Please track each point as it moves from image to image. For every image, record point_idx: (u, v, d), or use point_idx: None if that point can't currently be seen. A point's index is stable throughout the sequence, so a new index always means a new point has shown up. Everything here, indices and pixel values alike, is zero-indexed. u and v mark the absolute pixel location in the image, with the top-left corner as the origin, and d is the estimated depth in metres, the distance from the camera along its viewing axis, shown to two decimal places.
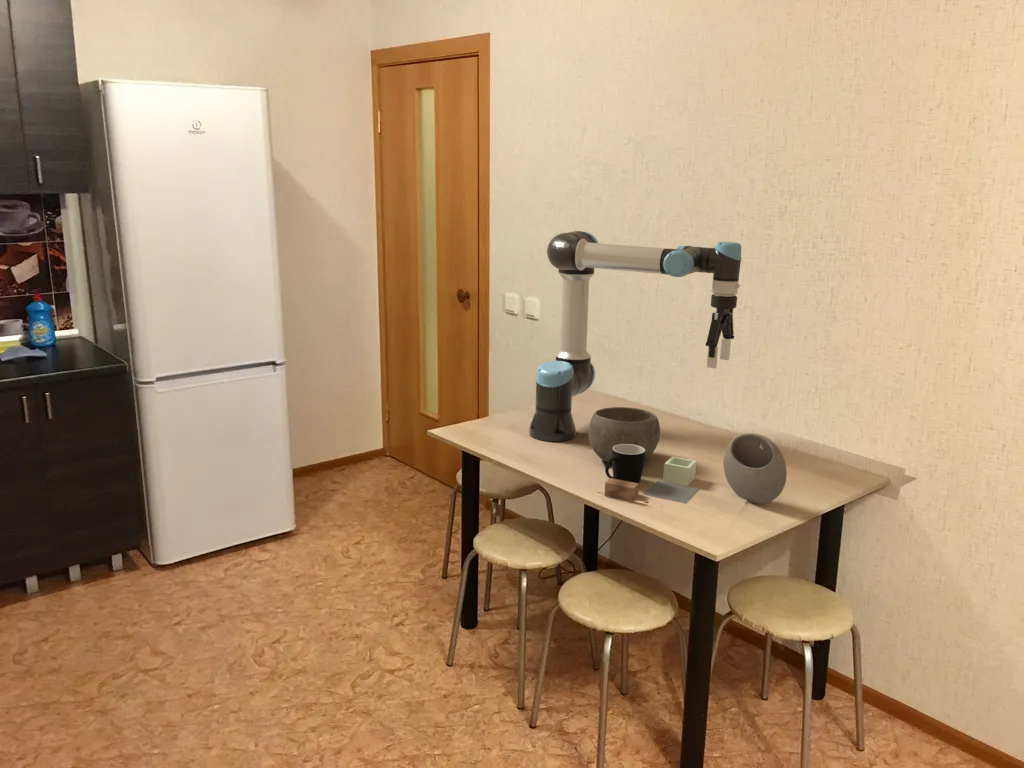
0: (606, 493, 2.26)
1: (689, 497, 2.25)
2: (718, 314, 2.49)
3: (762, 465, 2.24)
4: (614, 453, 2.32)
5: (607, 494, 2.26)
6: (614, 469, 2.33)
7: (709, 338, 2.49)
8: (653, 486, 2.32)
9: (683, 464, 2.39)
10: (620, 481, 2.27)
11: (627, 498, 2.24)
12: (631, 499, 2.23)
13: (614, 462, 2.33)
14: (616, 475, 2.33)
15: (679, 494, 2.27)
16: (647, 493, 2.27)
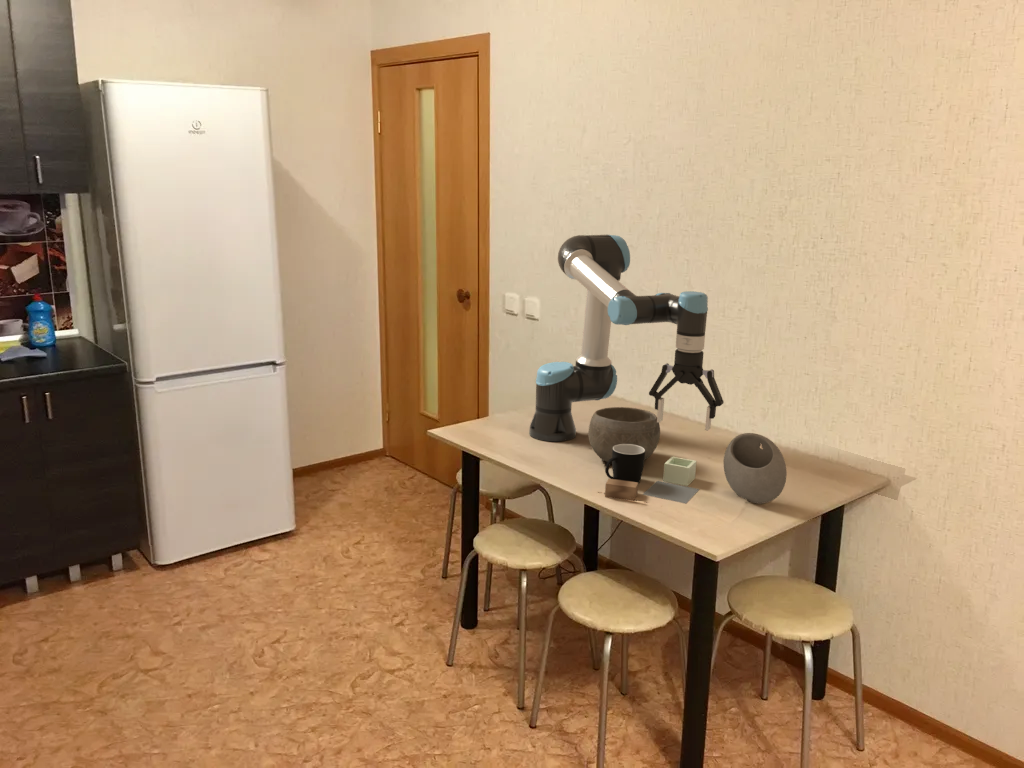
0: (607, 494, 2.26)
1: (689, 497, 2.25)
2: (663, 365, 2.32)
3: (762, 465, 2.24)
4: (614, 453, 2.32)
5: (608, 495, 2.25)
6: (614, 469, 2.33)
7: None
8: (653, 486, 2.32)
9: (683, 464, 2.39)
10: (619, 481, 2.27)
11: (629, 498, 2.24)
12: None
13: (614, 462, 2.33)
14: (616, 475, 2.33)
15: (679, 494, 2.27)
16: (647, 493, 2.27)
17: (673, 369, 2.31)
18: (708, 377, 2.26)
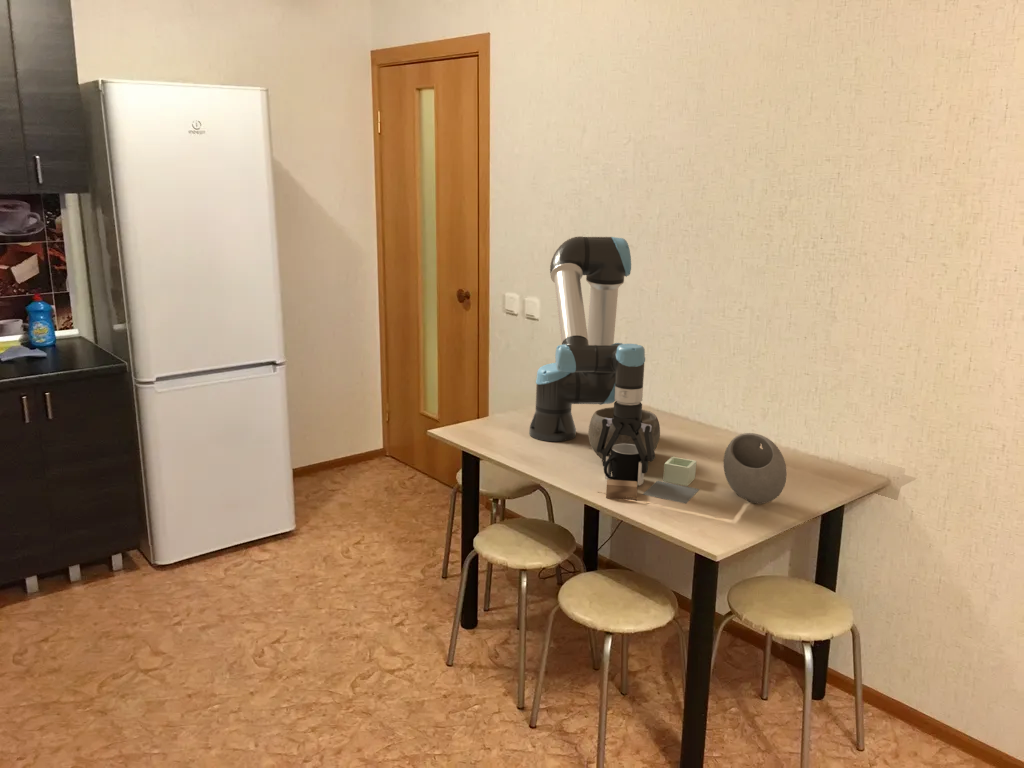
0: (608, 495, 2.25)
1: (689, 497, 2.25)
2: (603, 420, 2.33)
3: (762, 465, 2.24)
4: (613, 453, 2.32)
5: (609, 496, 2.25)
6: (613, 469, 2.33)
7: None
8: (653, 486, 2.32)
9: (683, 464, 2.39)
10: (619, 481, 2.27)
11: (630, 498, 2.24)
12: None
13: (613, 462, 2.33)
14: (615, 475, 2.33)
15: (679, 494, 2.27)
16: (647, 493, 2.27)
17: (613, 421, 2.31)
18: (645, 431, 2.27)
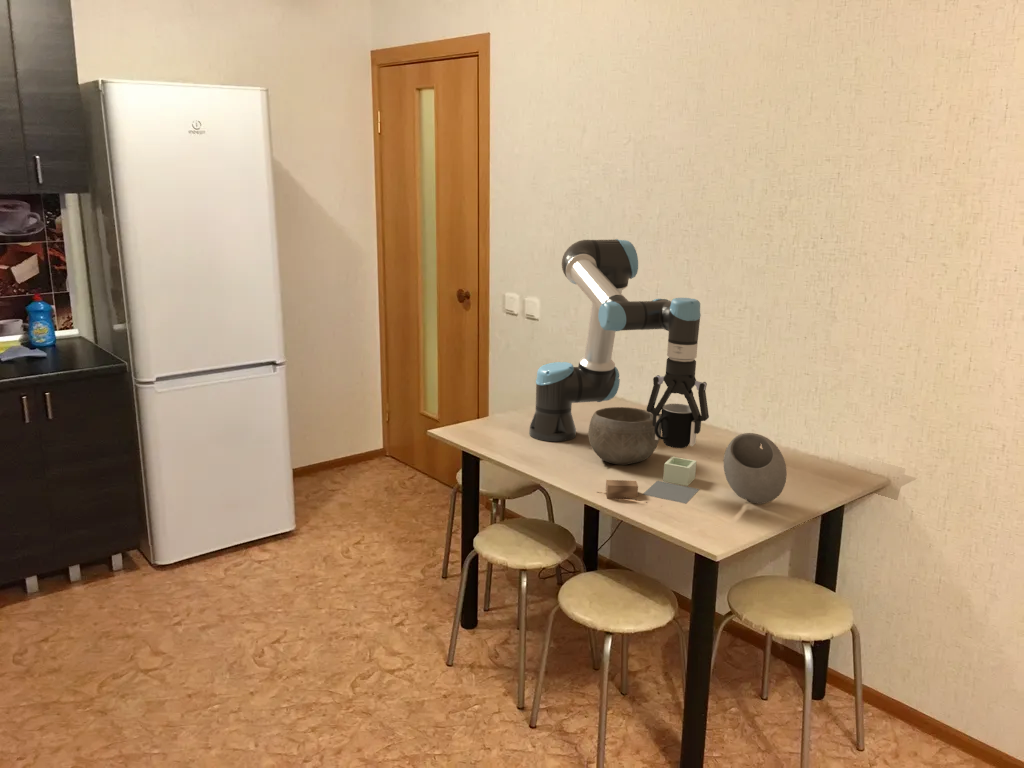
0: (609, 496, 2.24)
1: (689, 497, 2.25)
2: (654, 377, 2.24)
3: (762, 465, 2.24)
4: (664, 412, 2.23)
5: (610, 496, 2.25)
6: (663, 429, 2.24)
7: None
8: (653, 486, 2.32)
9: (683, 464, 2.39)
10: (618, 481, 2.26)
11: None
12: None
13: (664, 421, 2.23)
14: (665, 435, 2.24)
15: (679, 494, 2.27)
16: (647, 493, 2.27)
17: (664, 379, 2.22)
18: (699, 389, 2.18)
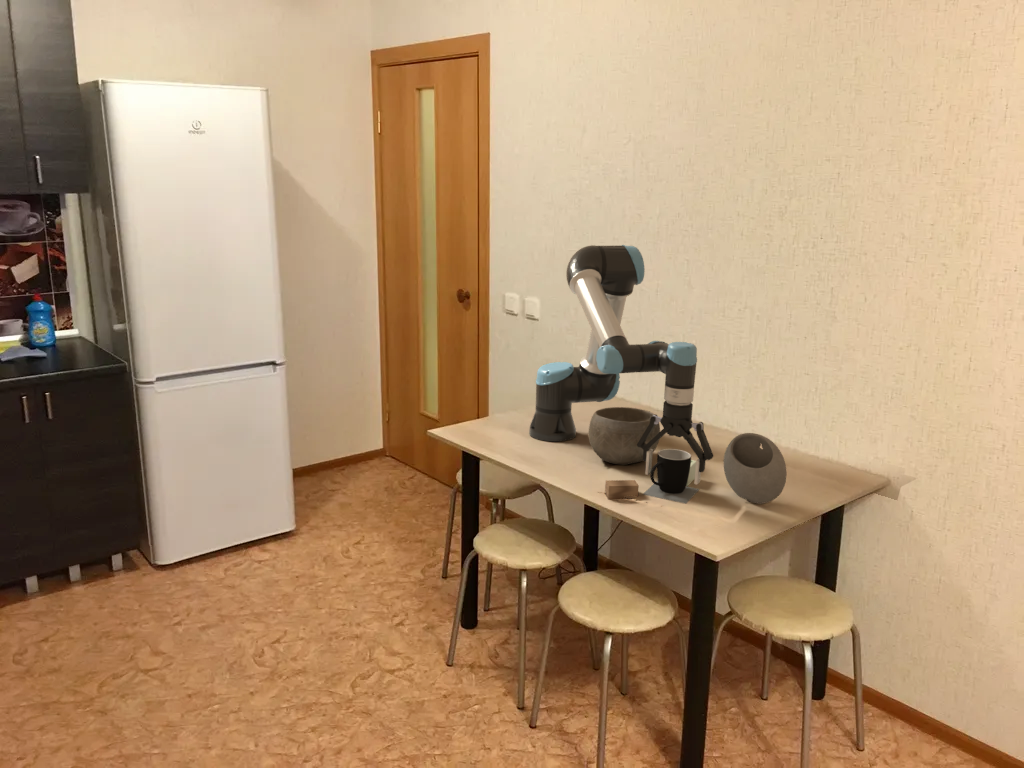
0: (610, 496, 2.24)
1: (689, 497, 2.25)
2: None
3: (762, 465, 2.24)
4: (659, 458, 2.26)
5: (611, 497, 2.24)
6: (659, 475, 2.27)
7: None
8: (653, 486, 2.32)
9: None
10: (618, 481, 2.26)
11: None
12: None
13: (659, 467, 2.27)
14: (661, 481, 2.27)
15: (679, 494, 2.27)
16: (647, 493, 2.27)
17: (661, 421, 2.25)
18: (697, 430, 2.20)
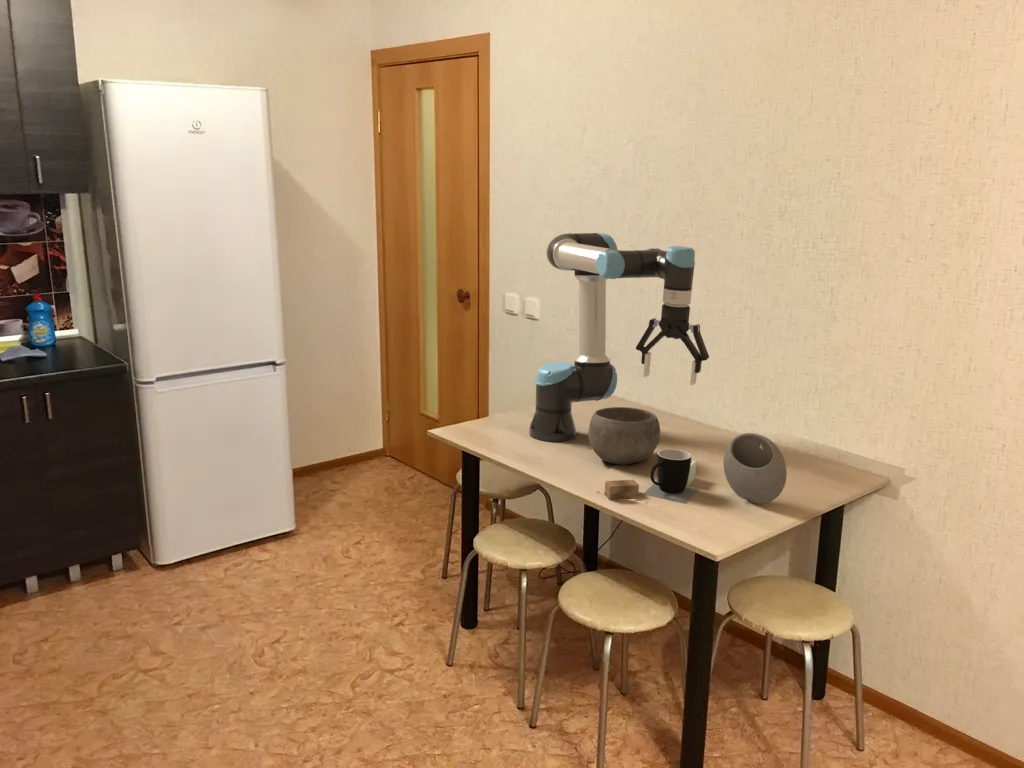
0: (611, 497, 2.24)
1: (689, 497, 2.25)
2: (650, 320, 2.34)
3: (762, 465, 2.24)
4: (659, 458, 2.26)
5: (612, 497, 2.24)
6: (659, 475, 2.27)
7: None
8: (653, 486, 2.32)
9: None
10: (618, 482, 2.26)
11: None
12: None
13: (659, 467, 2.27)
14: (661, 481, 2.27)
15: (679, 494, 2.27)
16: (647, 493, 2.27)
17: (660, 324, 2.33)
18: (694, 331, 2.28)
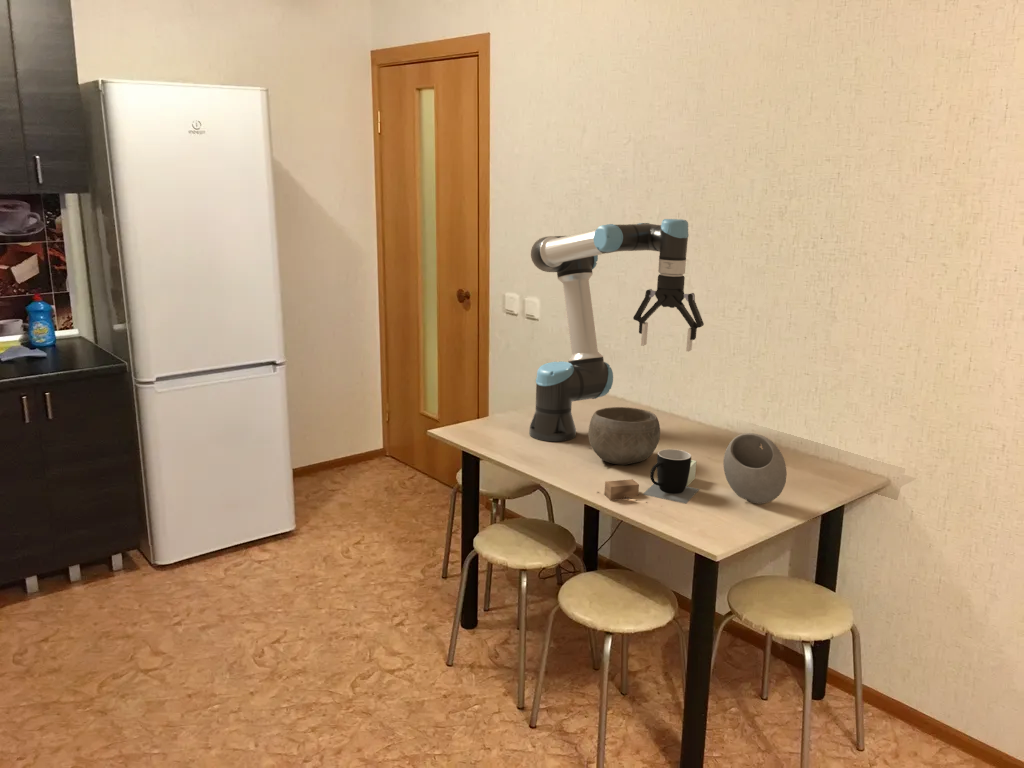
0: (612, 497, 2.24)
1: (689, 497, 2.25)
2: None
3: (762, 465, 2.24)
4: (659, 458, 2.26)
5: (613, 498, 2.24)
6: (659, 475, 2.27)
7: None
8: (653, 486, 2.32)
9: None
10: (618, 482, 2.26)
11: None
12: None
13: (659, 467, 2.27)
14: (661, 481, 2.27)
15: (679, 494, 2.27)
16: (647, 493, 2.27)
17: (656, 293, 2.43)
18: (689, 300, 2.39)
